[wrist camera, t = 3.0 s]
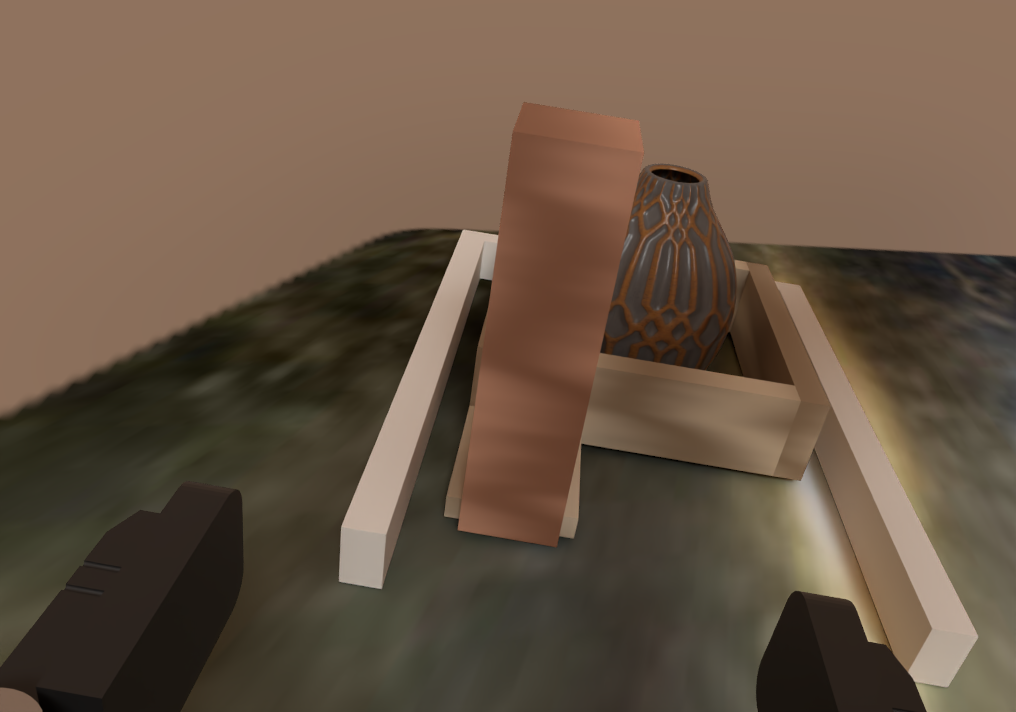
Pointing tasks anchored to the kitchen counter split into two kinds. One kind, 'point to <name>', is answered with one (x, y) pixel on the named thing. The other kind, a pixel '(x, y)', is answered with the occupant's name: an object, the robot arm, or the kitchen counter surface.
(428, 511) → the kitchen counter surface
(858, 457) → the rail lane
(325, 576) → the kitchen counter surface
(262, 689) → the kitchen counter surface
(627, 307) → the vase
